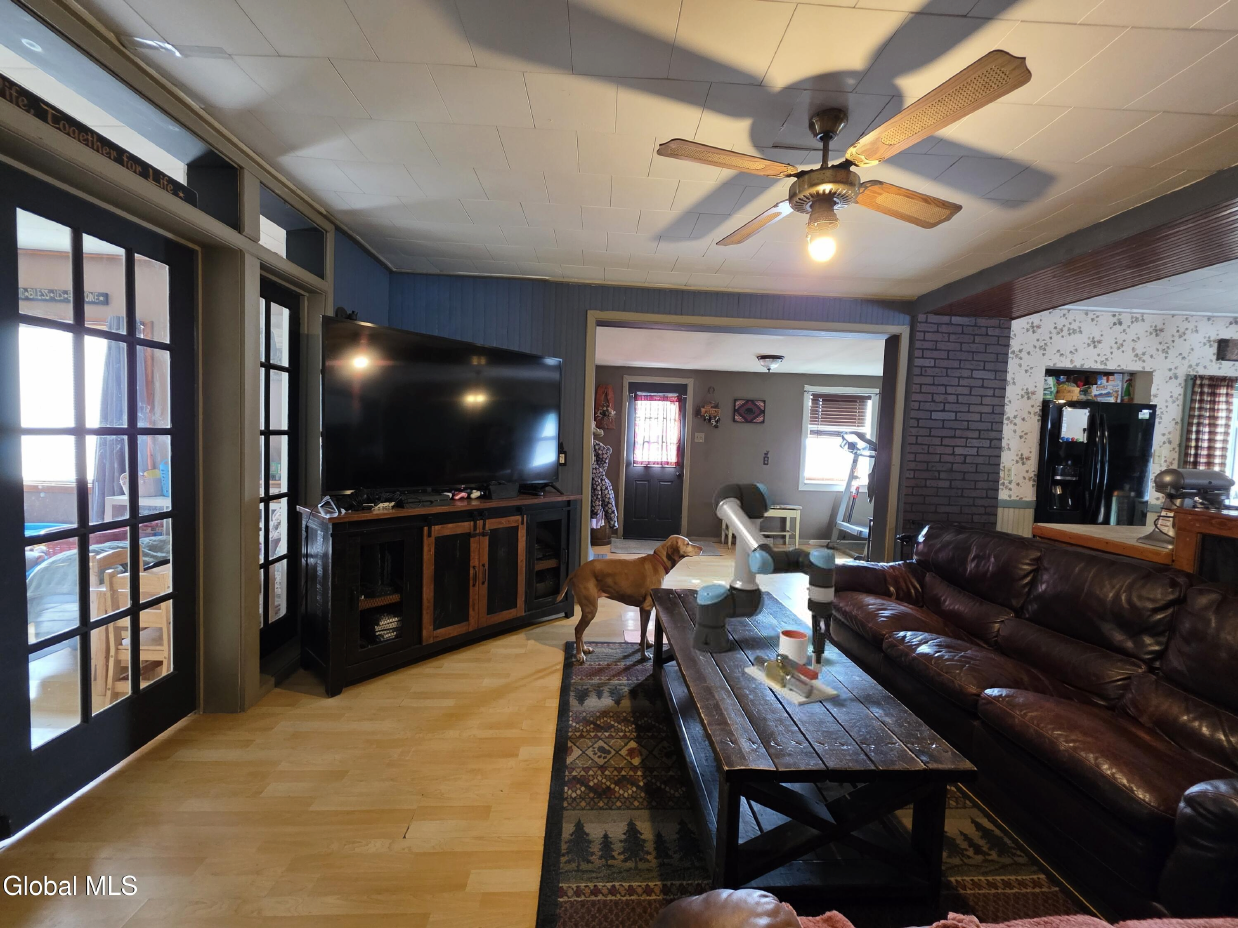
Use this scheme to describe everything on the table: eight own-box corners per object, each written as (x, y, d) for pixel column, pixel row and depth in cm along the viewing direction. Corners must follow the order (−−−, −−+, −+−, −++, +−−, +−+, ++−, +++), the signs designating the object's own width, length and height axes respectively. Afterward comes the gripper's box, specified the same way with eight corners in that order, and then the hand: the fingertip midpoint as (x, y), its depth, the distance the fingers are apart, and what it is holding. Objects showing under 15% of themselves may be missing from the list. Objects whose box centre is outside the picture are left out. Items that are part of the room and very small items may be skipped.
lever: (773, 660, 178) (773, 654, 178) (782, 658, 180) (783, 652, 180) (809, 680, 163) (810, 674, 163) (819, 678, 165) (819, 672, 165)
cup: (808, 667, 192) (810, 640, 191) (780, 664, 194) (781, 637, 193) (804, 657, 202) (806, 631, 201) (777, 654, 204) (778, 628, 203)
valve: (749, 670, 187) (750, 650, 187) (765, 667, 190) (766, 647, 189) (799, 702, 165) (800, 678, 165) (816, 698, 168) (817, 675, 168)
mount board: (744, 670, 187) (744, 668, 187) (782, 663, 194) (782, 661, 194) (797, 705, 164) (797, 701, 163) (838, 695, 171) (838, 692, 171)
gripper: (804, 592, 174) (801, 662, 175) (811, 603, 162) (807, 679, 162) (829, 594, 173) (825, 665, 174) (837, 605, 160) (833, 682, 161)
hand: (816, 672), depth 168 cm, fingers closed
